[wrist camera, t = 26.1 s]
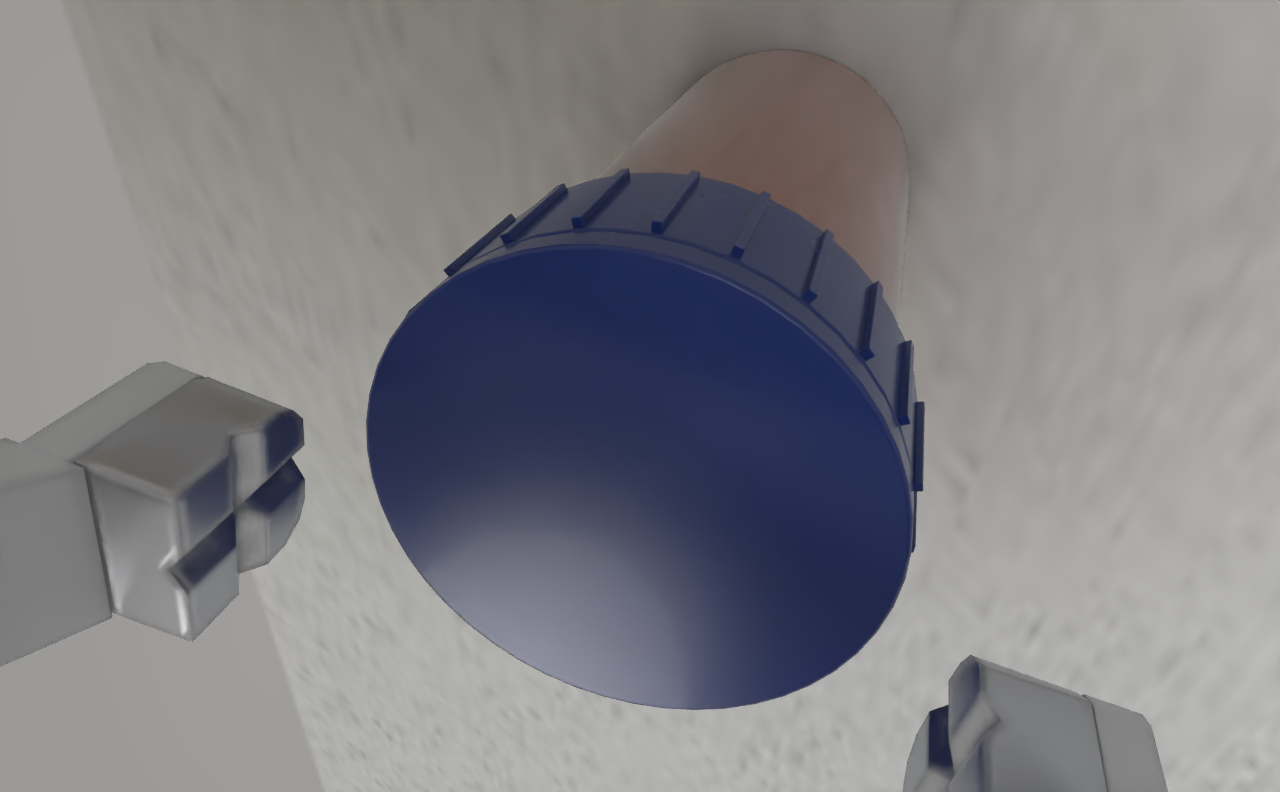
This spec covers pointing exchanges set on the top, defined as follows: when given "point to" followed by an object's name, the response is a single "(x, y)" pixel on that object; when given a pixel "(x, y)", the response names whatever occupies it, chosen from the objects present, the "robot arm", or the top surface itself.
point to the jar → (794, 150)
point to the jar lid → (655, 442)
